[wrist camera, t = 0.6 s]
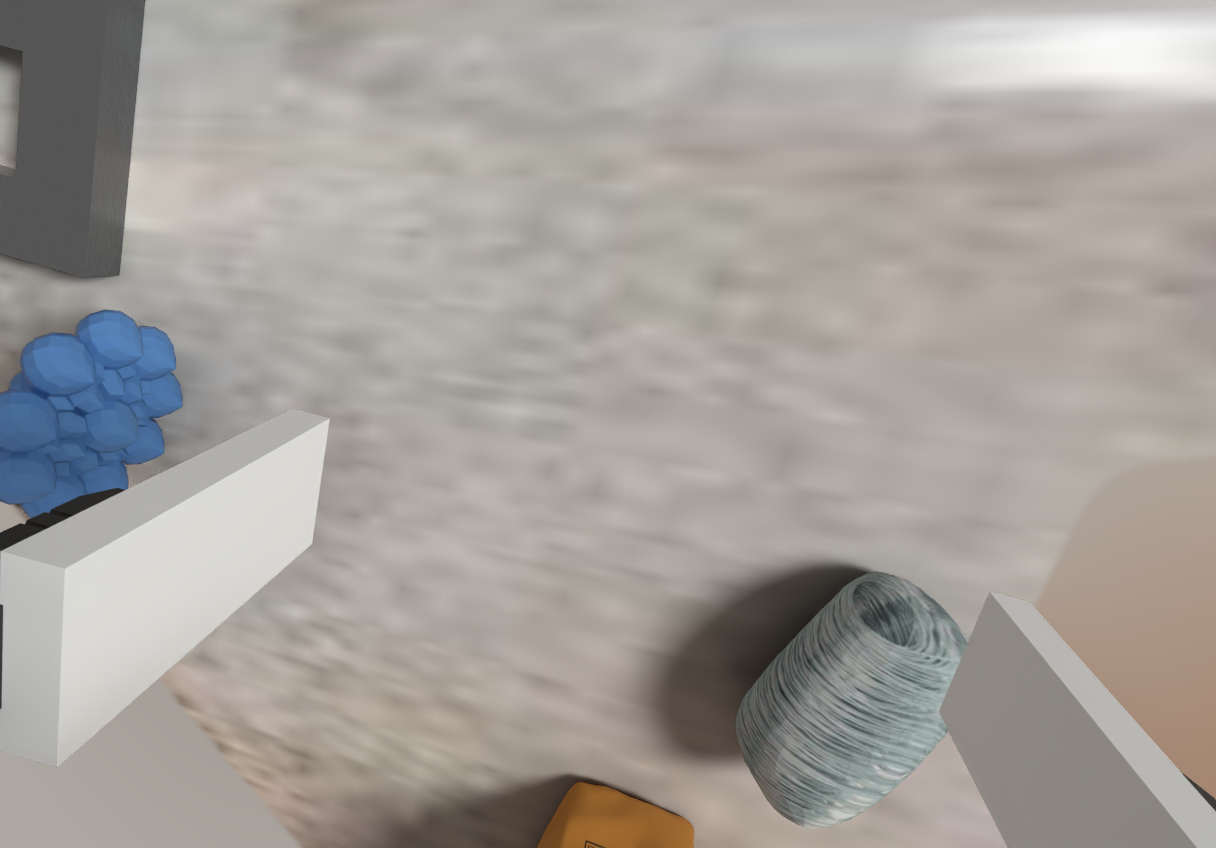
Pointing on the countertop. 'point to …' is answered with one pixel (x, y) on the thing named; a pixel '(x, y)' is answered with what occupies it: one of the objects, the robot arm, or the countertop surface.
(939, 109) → the countertop surface
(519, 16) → the countertop surface
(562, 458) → the countertop surface
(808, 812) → the spool
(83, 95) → the gray square hole plate
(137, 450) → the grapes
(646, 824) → the coffee package
